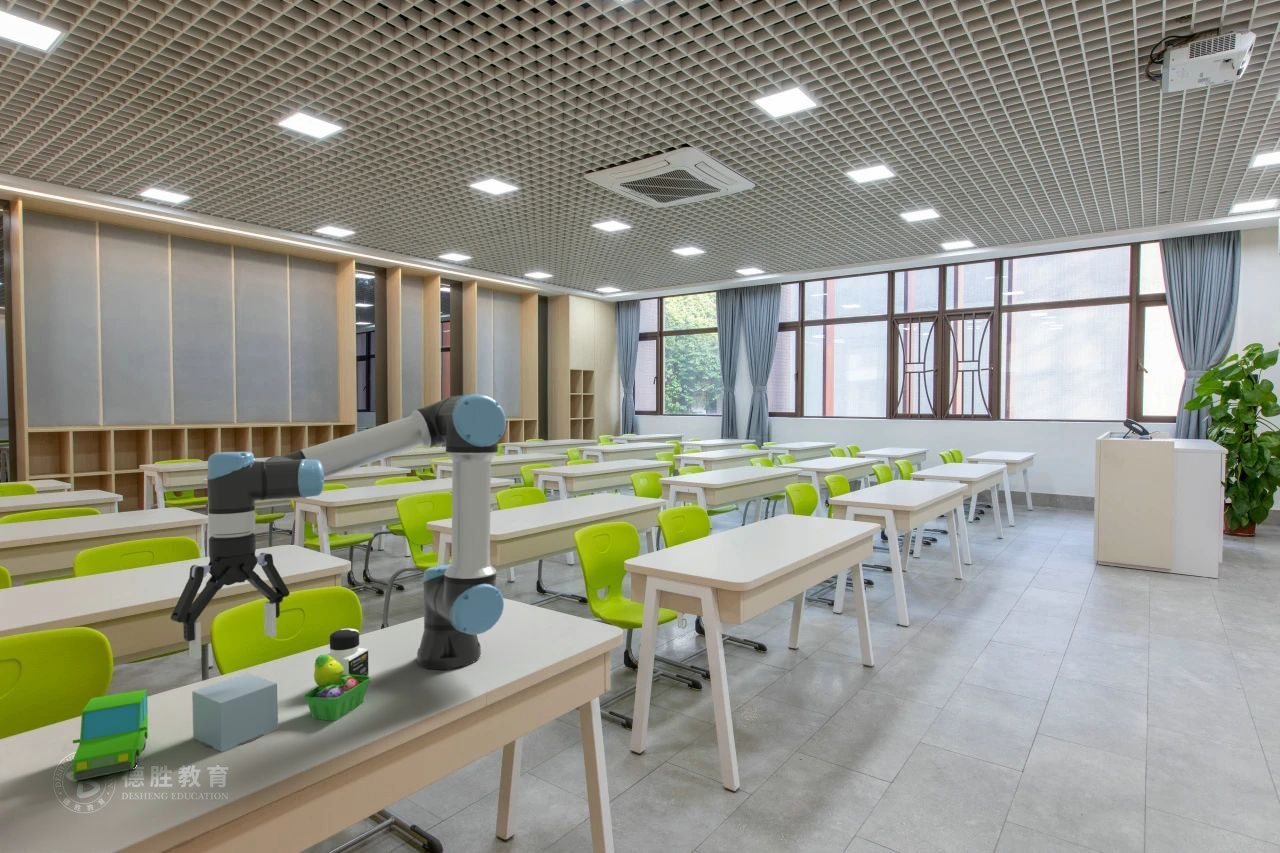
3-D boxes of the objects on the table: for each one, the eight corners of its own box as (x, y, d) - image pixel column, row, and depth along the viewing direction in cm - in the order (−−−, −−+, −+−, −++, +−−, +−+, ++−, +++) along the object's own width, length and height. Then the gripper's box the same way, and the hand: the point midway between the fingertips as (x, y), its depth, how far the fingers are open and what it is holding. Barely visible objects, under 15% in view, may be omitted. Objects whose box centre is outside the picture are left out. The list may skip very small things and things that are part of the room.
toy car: (63, 792, 107) (61, 730, 107) (85, 755, 119) (83, 699, 119) (141, 775, 112) (140, 716, 112) (155, 741, 124) (153, 688, 124)
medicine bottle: (349, 692, 145) (348, 637, 145) (320, 689, 146) (319, 635, 146) (369, 679, 152) (368, 627, 152) (341, 677, 153) (340, 625, 153)
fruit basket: (335, 724, 130) (334, 667, 129) (297, 720, 132) (296, 663, 131) (372, 700, 141) (371, 647, 140) (336, 696, 143) (335, 644, 143)
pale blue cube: (277, 728, 128) (277, 683, 128) (221, 752, 119) (220, 703, 119) (249, 716, 133) (248, 673, 133) (193, 738, 125) (192, 691, 124)
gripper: (285, 522, 138) (287, 624, 138) (146, 543, 117) (149, 663, 117) (307, 525, 134) (308, 630, 135) (167, 547, 113) (170, 671, 113)
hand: (234, 646), depth 126 cm, fingers open, 13 cm apart
